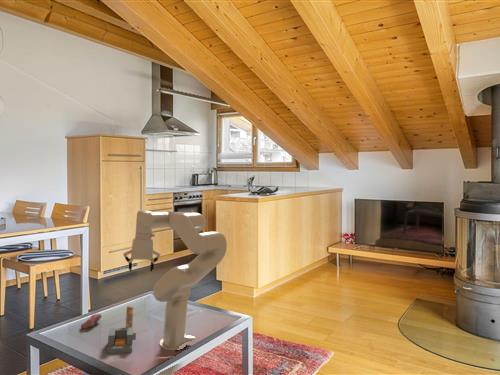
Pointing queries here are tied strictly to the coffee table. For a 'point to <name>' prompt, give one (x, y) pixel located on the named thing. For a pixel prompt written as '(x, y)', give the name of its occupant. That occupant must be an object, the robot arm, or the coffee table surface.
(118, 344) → the button
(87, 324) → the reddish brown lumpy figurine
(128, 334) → the switch box
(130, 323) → the stylus
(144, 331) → the coffee table surface
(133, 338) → the mat
